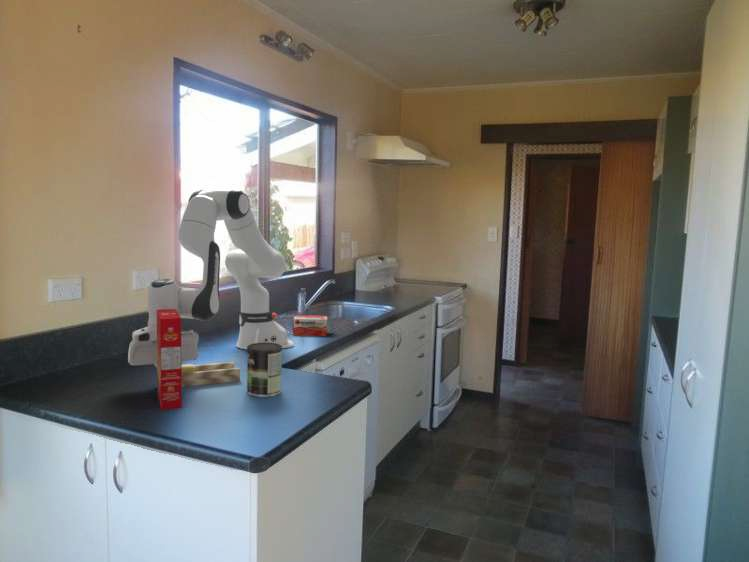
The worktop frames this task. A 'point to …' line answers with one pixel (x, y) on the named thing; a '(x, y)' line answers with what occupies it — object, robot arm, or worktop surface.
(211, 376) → the u-shaped frame
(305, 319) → the medicine box
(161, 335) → the food packaging
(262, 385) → the coffee can
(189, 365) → the block
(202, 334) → the worktop surface
